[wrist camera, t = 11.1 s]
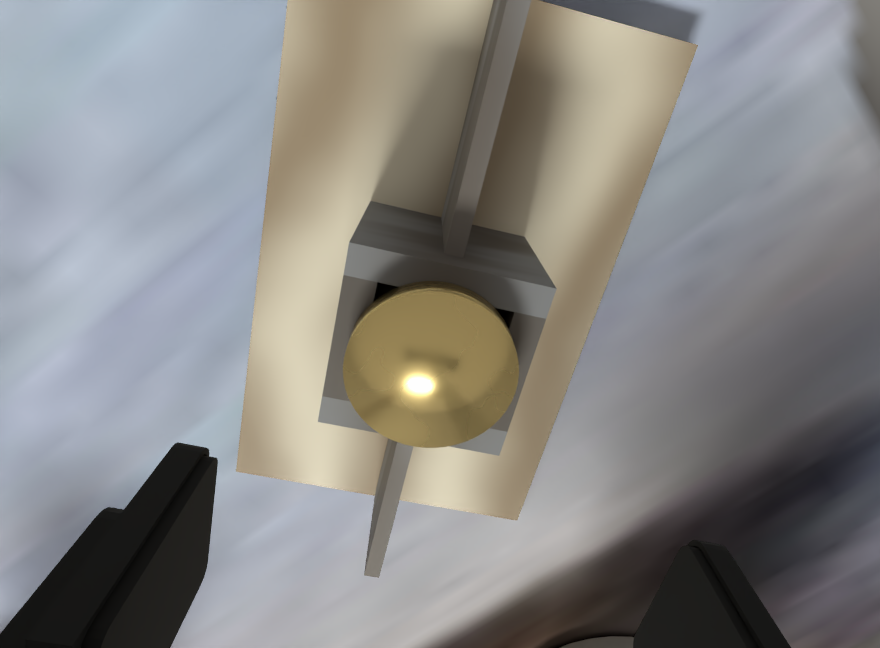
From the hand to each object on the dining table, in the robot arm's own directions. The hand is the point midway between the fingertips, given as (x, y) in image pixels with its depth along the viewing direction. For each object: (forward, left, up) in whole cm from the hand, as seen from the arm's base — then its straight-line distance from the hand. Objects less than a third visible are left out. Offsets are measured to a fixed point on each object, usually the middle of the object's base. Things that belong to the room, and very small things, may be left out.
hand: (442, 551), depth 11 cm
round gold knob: (0, 0, -12) cm, 12 cm away
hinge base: (0, -1, -14) cm, 14 cm away
